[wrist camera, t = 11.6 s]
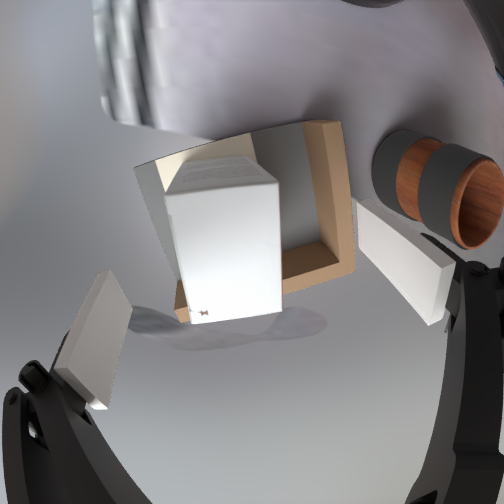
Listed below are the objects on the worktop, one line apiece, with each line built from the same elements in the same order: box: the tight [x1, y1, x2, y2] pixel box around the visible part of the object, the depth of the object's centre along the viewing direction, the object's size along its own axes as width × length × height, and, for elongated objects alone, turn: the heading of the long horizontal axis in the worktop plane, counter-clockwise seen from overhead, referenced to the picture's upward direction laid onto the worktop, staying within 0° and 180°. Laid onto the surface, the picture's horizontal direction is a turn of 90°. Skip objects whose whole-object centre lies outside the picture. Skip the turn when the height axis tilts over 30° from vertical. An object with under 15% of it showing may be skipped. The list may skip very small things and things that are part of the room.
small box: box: [164, 155, 283, 324], centre depth 19 cm, size 8×6×10 cm
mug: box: [372, 131, 504, 250], centre depth 21 cm, size 9×12×12 cm
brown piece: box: [134, 119, 355, 323], centre depth 23 cm, size 13×16×5 cm
